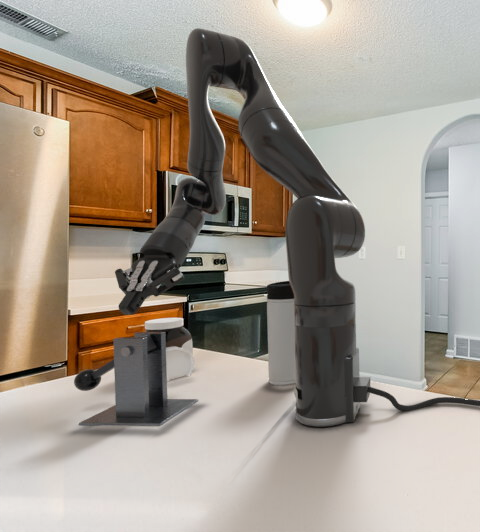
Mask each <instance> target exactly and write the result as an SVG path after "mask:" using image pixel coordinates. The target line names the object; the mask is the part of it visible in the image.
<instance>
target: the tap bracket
mask: <svg viewBox="0 0 480 532" xmlns="http://www.w3.org/2000/svg"><path fill="white" fill-rule="evenodd" d="M148 334H149V335H150V336H151V338H152V340H153V341H154V343H155V345H156V346H157V348H155V349H154V350H152V351H150V352H149V353H147V337H141V336H145V335H148ZM133 336H134V337H127V336H126V337H123V336H121V337H120V336H119V337H114V338H113V340H112V341H113V359H114V368H113V371H114V373H113V374H114V399H115V400H114V402H115V405H113V406H111V407H109V408H106V409H104V410H102V411H101V412H98V413H95V414H94V415H92V416H90V417H87V418H86V419H84V420H81V421H80V422H78V426H125V427H126V426H129V427H130V426H133V427H139V426H141V427H161V426H163V425H164V424H165V423H167V422H169V421H170V420H172V419H173V418H175V417H176V416H178V415H179V414H181V413H182V412H184V411H185V410H187V409H189V408H190V407H192V406H193V405H195V404H196V403H198V402H199V399H198V398H168V382H167V369H166V337H165V332H145V331H138V332H137V331H136V332H134V334H133Z"/></svg>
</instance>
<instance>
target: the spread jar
mask: <svg viewBox="0 0 480 532" xmlns="http://www.w3.org/2000/svg"><path fill="white" fill-rule="evenodd" d="M184 323H185V322H184V318H183V317H162V318H155V319H154V318H153V319H149V320H146V321H144V330H145V331H144V332H165V337H166V369H167V383H171V382H170V380H173V379H177V378H181V377H184V376H186V377H190V376H192V374H193V372H194V370H195V363H196V362H195V358H194V351H193V350H194V349H193V347H194V346H193V345H194V344H193V337H192V334H191V332H190V331H189V330H188V329H187V328H185V327H184Z"/></svg>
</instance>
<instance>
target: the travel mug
mask: <svg viewBox="0 0 480 532" xmlns="http://www.w3.org/2000/svg"><path fill="white" fill-rule="evenodd" d="M266 294H267V295H266V320H267V321H266V323H267V325H266V326H267V351H268V352H267V361H268V366H267V367H268V384H269V385H270V386H276V387H286V386H287V387H288V386H294V385H296V371H295V323H294V294H293V291H292V288H291V286H290V283H289V280H284V281H278V282H277V281H276V282H273V283H269V284H267V285H266Z"/></svg>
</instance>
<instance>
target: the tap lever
mask: <svg viewBox="0 0 480 532" xmlns="http://www.w3.org/2000/svg"><path fill="white" fill-rule="evenodd" d="M141 337H147V353H149V352H150V351H152V350H154V349H155V348H157V346H156V345H155V343H154V341H153V340H152V338H151V336H150V335H149V334H148V335H145V336H141ZM112 370H114V358H113V359H112V360H111V361H108V362H107V363H105V364H104V365H102V366H100V367H99V368H97V369H94V368H93V369H92V368H88V369H87V368H86V369H84V370H81V371H80V372H78V373H77V374H76V376H75V377H74V380H73V385H74V387H75V388H76V389H77V390H79V391H81V392H89V391H92V390H94V389H96V388H97V387H99V386H100V383H101V381H102V376H104V375H106V374H107V373H109V372H111V371H112Z"/></svg>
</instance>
